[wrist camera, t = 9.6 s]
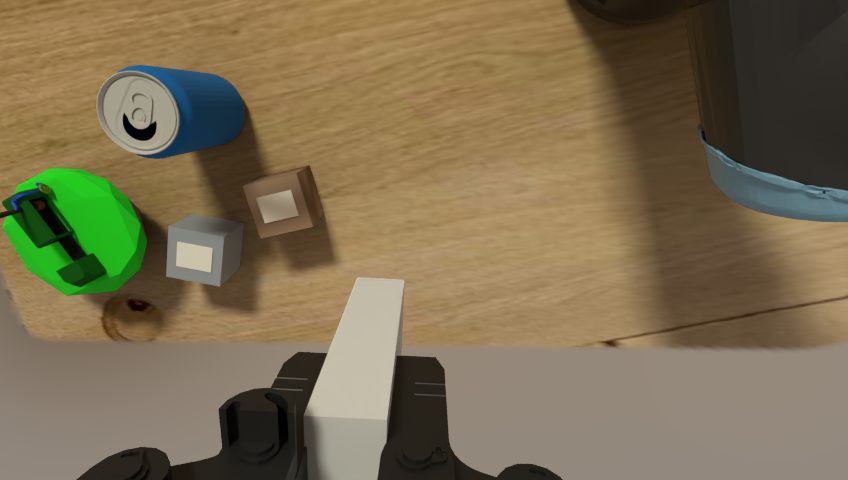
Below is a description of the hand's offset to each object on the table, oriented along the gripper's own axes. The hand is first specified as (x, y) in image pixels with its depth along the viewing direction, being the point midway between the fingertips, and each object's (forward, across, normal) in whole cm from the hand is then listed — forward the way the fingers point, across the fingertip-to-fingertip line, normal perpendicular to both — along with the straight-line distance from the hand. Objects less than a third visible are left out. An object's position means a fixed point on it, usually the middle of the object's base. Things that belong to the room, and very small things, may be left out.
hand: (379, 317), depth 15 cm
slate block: (+31, -20, -8) cm, 38 cm away
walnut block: (+31, -12, -3) cm, 34 cm away
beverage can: (+31, -19, +5) cm, 37 cm away
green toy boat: (+31, -30, -7) cm, 44 cm away
